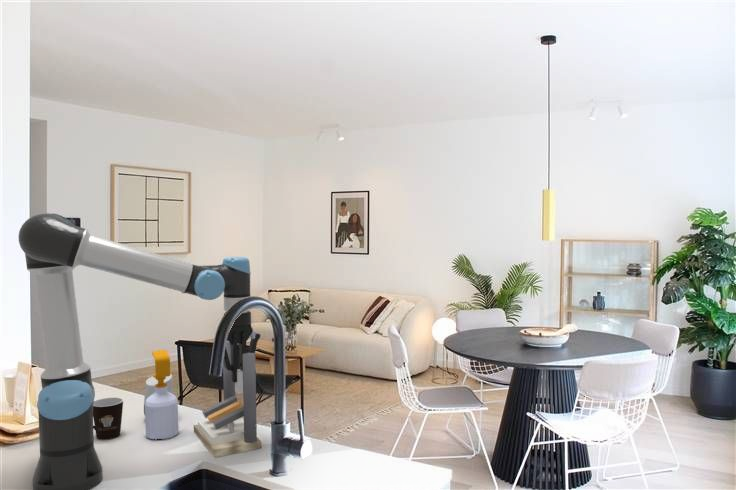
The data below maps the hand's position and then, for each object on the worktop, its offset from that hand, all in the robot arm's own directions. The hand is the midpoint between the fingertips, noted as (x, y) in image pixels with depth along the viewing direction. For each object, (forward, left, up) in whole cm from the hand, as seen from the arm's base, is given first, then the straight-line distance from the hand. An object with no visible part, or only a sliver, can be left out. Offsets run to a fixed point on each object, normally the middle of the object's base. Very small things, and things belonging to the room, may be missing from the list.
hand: (239, 392), depth 176 cm
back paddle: (-4, +6, -5) cm, 8 cm away
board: (-4, 0, -13) cm, 14 cm away
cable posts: (0, 0, -11) cm, 11 cm away
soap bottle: (-19, +14, -13) cm, 27 cm away
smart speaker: (-17, +28, -13) cm, 35 cm away
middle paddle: (-4, 0, -5) cm, 6 cm away
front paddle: (-4, -6, -5) cm, 8 cm away
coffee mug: (-34, +22, -13) cm, 42 cm away
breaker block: (-4, 0, -11) cm, 12 cm away
